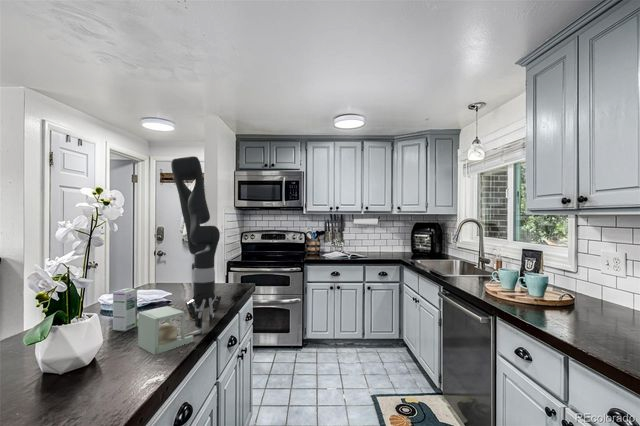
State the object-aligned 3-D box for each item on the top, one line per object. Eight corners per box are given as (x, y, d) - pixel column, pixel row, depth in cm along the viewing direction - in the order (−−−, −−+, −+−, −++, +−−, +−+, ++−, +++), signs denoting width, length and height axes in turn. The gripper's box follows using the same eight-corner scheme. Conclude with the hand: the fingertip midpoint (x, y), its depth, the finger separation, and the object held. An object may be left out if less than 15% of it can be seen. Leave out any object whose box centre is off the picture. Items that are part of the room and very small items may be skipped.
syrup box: (125, 331, 118) (126, 292, 119) (112, 330, 120) (112, 291, 120) (137, 326, 124) (137, 288, 124) (124, 325, 125) (124, 287, 125)
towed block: (202, 329, 121) (202, 305, 121) (211, 332, 118) (212, 308, 118) (149, 345, 106) (150, 318, 106) (158, 350, 102) (159, 321, 102)
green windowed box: (176, 334, 116) (176, 303, 116) (193, 341, 109) (193, 309, 109) (138, 345, 105) (138, 312, 105) (154, 354, 99) (154, 319, 99)
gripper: (214, 275, 127) (214, 319, 126) (180, 281, 115) (180, 329, 115) (226, 278, 122) (226, 323, 122) (192, 284, 111) (191, 334, 111)
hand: (203, 326), depth 118 cm, fingers open, 3 cm apart
